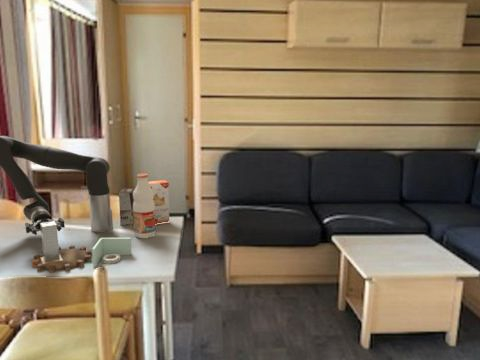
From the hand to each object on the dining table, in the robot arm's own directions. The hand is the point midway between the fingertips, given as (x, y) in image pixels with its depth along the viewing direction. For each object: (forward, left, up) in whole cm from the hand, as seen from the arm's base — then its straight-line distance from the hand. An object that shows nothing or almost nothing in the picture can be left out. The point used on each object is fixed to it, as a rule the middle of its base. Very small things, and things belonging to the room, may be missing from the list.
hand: (47, 230), depth 174 cm
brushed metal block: (0, +6, -9) cm, 11 cm away
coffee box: (-40, -28, -11) cm, 50 cm away
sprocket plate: (-4, +6, -11) cm, 13 cm away
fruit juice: (-41, -6, -11) cm, 43 cm away
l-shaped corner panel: (-21, +15, -12) cm, 28 cm away
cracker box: (-50, -19, -11) cm, 54 cm away
